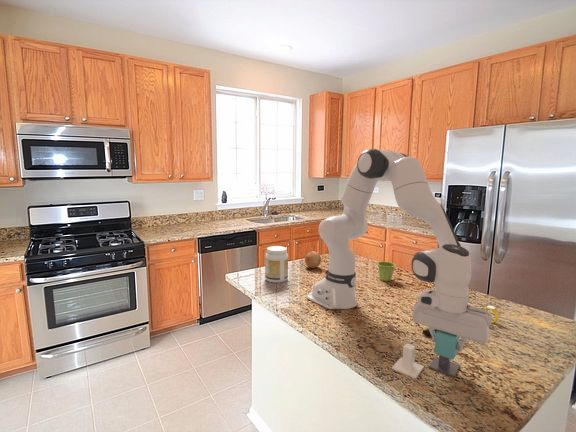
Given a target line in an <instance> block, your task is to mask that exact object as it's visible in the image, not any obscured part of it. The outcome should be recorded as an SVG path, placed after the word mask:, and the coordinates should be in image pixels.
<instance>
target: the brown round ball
mask: <svg viewBox="0 0 576 432" xmlns="http://www.w3.org/2000/svg"><path fill="white" fill-rule="evenodd" d="M304 263H305V265H306V266H307V267H308V268H311V269H315V268H318V267H319V266H321V263H322V257H321V255H320V254H319V252H317V251H315V250H311V251H309V252H308V253H307V254H306V255H305V257H304Z"/></svg>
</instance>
